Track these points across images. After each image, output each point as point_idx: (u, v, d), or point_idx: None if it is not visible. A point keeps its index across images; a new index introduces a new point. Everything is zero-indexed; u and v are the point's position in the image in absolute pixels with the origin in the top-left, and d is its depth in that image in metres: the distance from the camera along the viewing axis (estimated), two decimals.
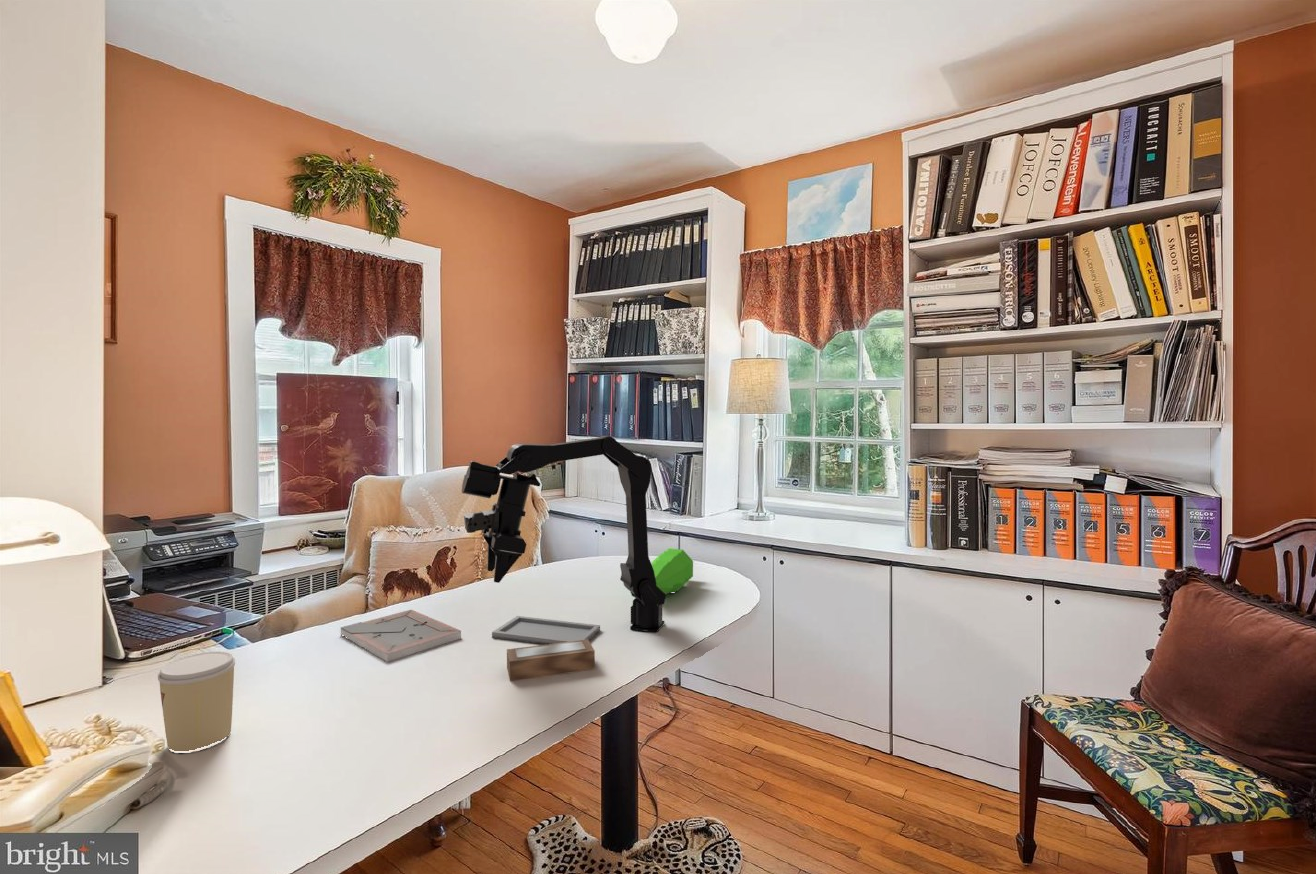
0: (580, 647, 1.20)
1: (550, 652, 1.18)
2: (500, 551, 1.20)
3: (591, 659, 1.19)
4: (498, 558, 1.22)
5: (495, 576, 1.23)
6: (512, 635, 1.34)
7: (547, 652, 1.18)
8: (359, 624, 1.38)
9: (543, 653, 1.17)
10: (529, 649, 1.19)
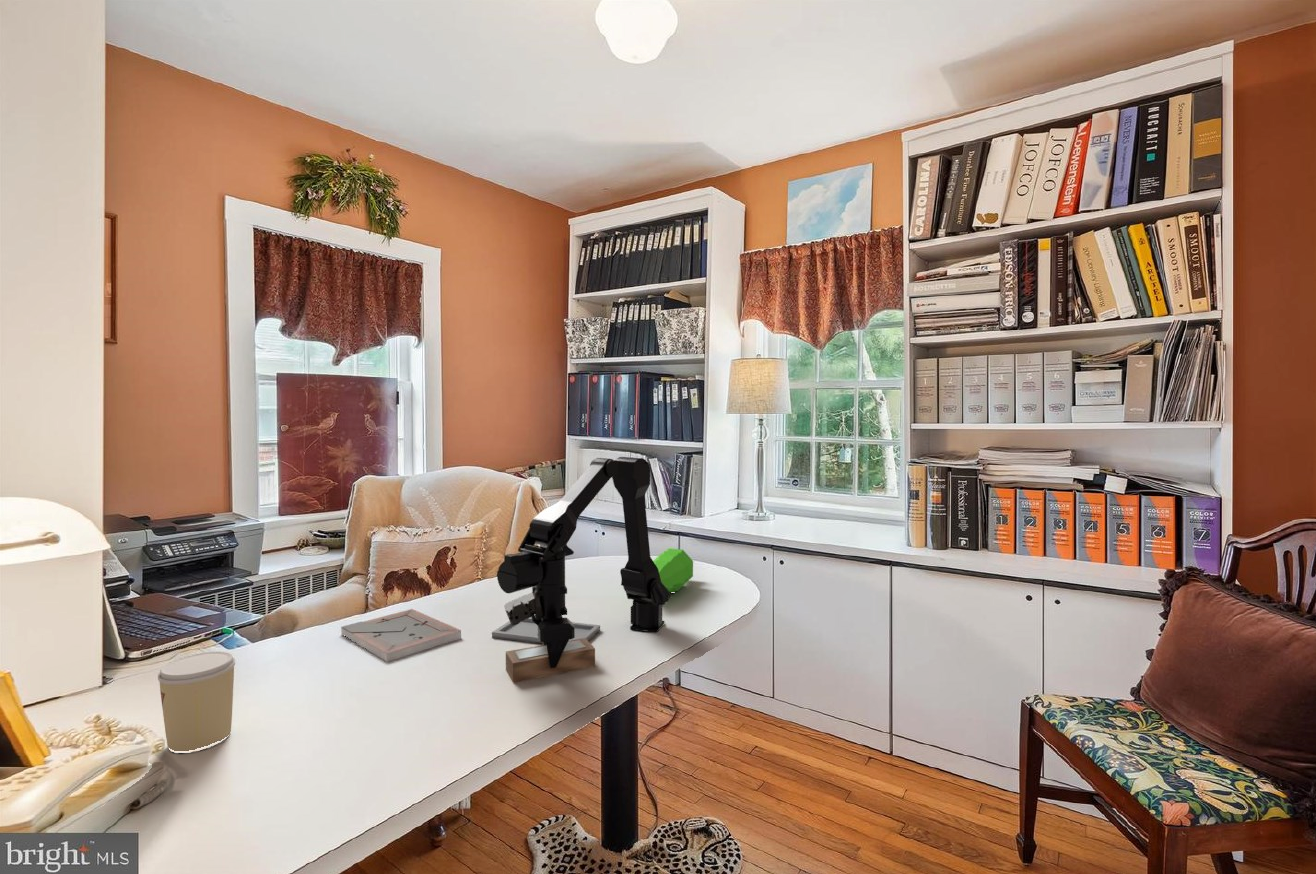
0: (580, 646, 1.21)
1: None
2: None
3: (592, 656, 1.20)
4: (548, 645, 1.14)
5: (550, 662, 1.15)
6: (512, 635, 1.34)
7: None
8: (360, 623, 1.38)
9: (545, 653, 1.17)
10: (529, 650, 1.19)
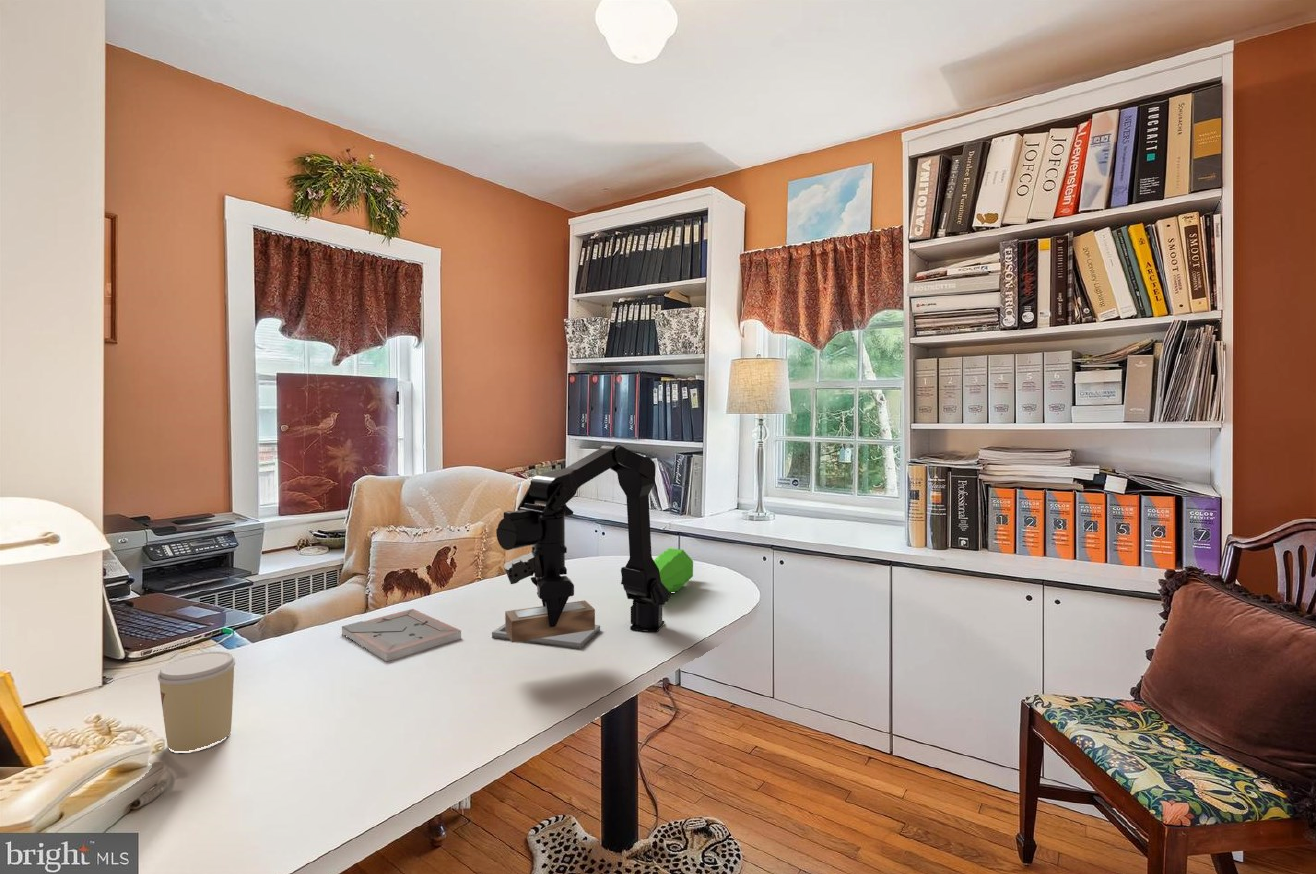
0: (580, 607, 1.20)
1: None
2: None
3: (591, 617, 1.19)
4: (547, 603, 1.13)
5: (549, 621, 1.15)
6: None
7: None
8: (360, 623, 1.38)
9: (544, 613, 1.17)
10: (528, 610, 1.18)
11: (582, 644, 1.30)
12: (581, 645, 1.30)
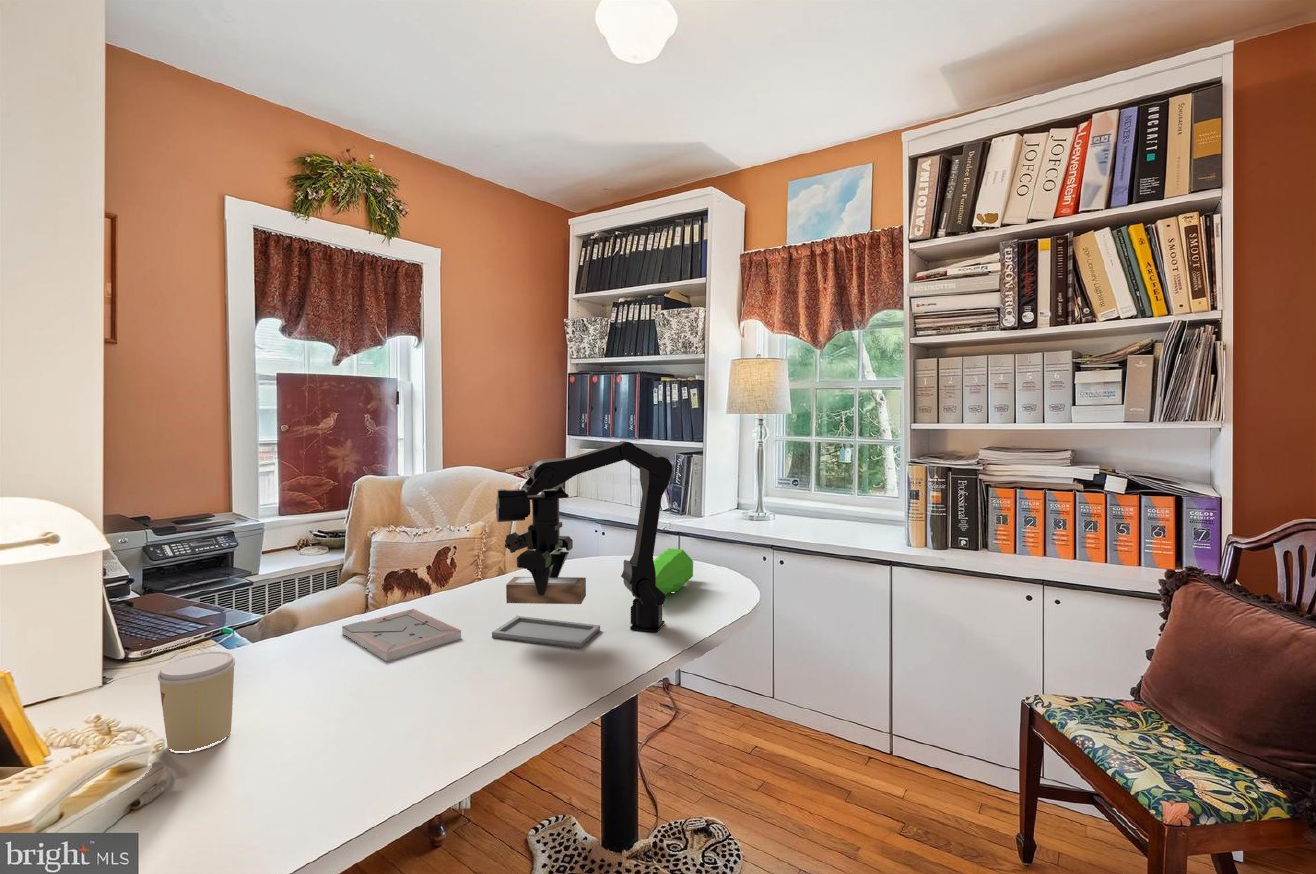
0: (571, 581, 1.32)
1: None
2: None
3: (578, 592, 1.30)
4: (532, 573, 1.28)
5: (537, 589, 1.30)
6: (512, 635, 1.34)
7: None
8: (361, 623, 1.38)
9: None
10: (530, 578, 1.35)
11: (582, 644, 1.30)
12: (581, 645, 1.30)
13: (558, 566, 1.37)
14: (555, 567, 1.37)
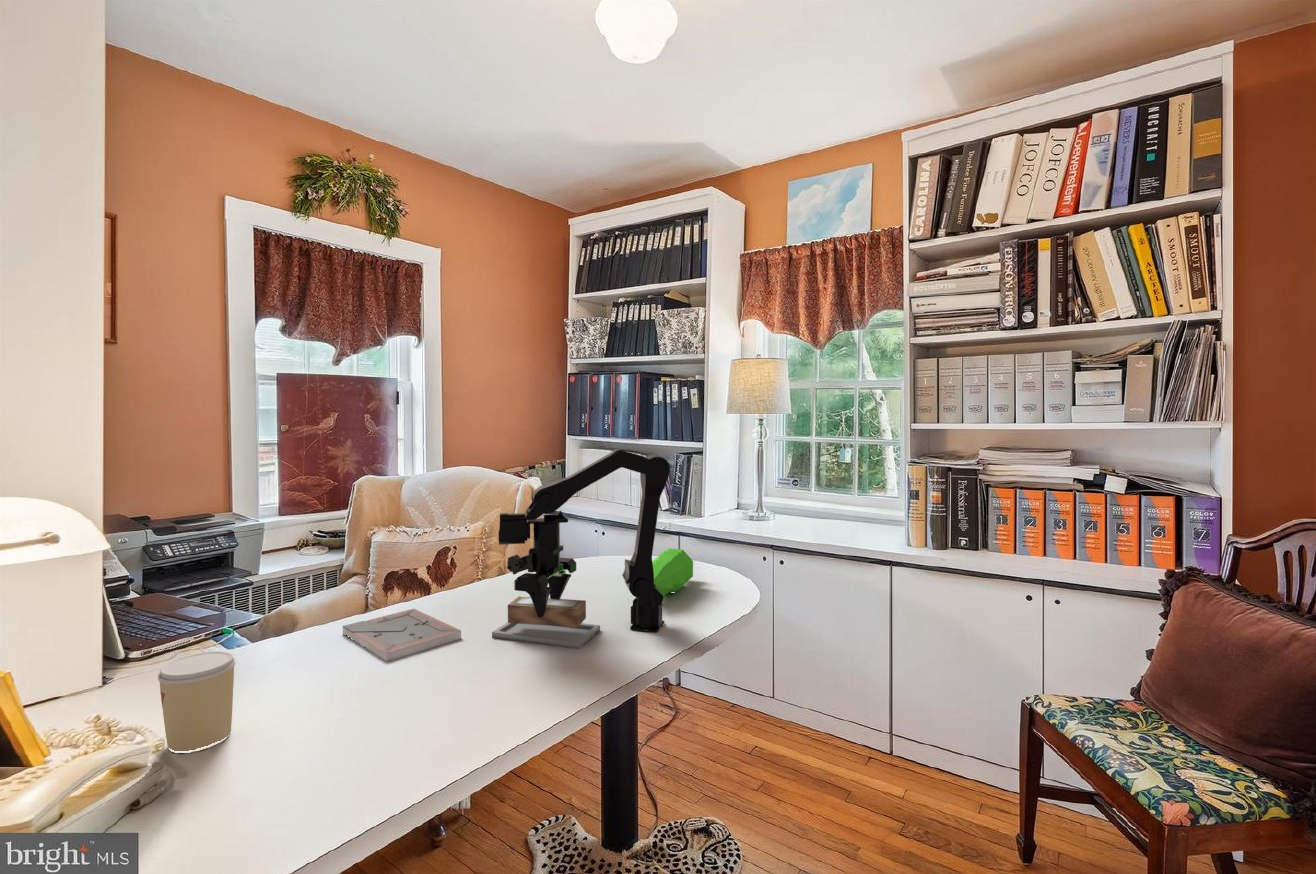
0: (570, 604, 1.35)
1: None
2: None
3: (575, 616, 1.33)
4: (531, 595, 1.32)
5: (536, 611, 1.34)
6: (512, 635, 1.34)
7: None
8: (361, 623, 1.39)
9: None
10: None
11: (582, 644, 1.30)
12: (581, 645, 1.30)
13: (560, 588, 1.40)
14: (557, 589, 1.40)
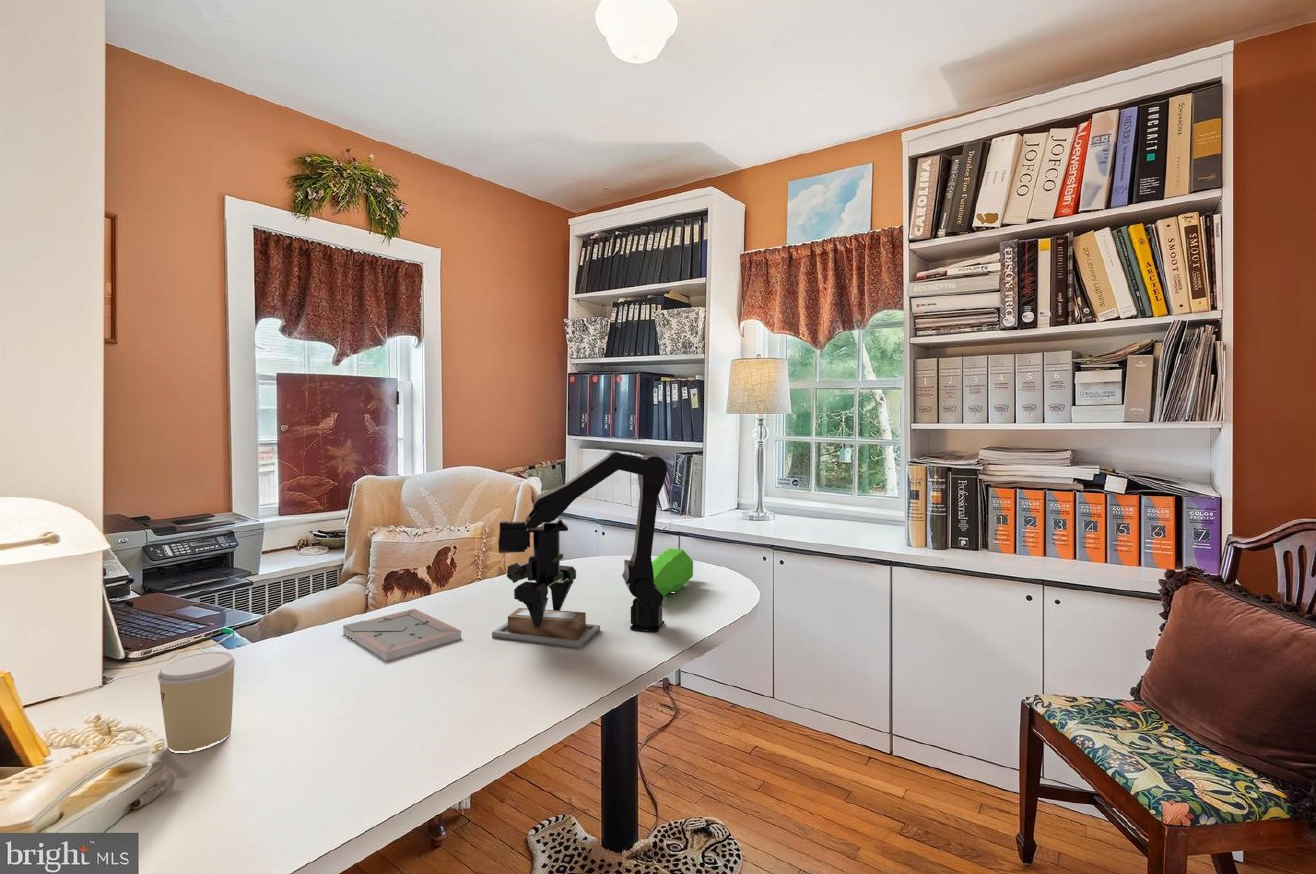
0: (569, 617, 1.35)
1: (543, 616, 1.36)
2: (523, 600, 1.30)
3: (574, 628, 1.33)
4: (528, 606, 1.31)
5: (533, 622, 1.32)
6: (512, 635, 1.34)
7: None
8: (361, 622, 1.39)
9: None
10: None
11: (582, 644, 1.30)
12: (581, 645, 1.30)
13: (562, 595, 1.41)
14: (559, 595, 1.41)
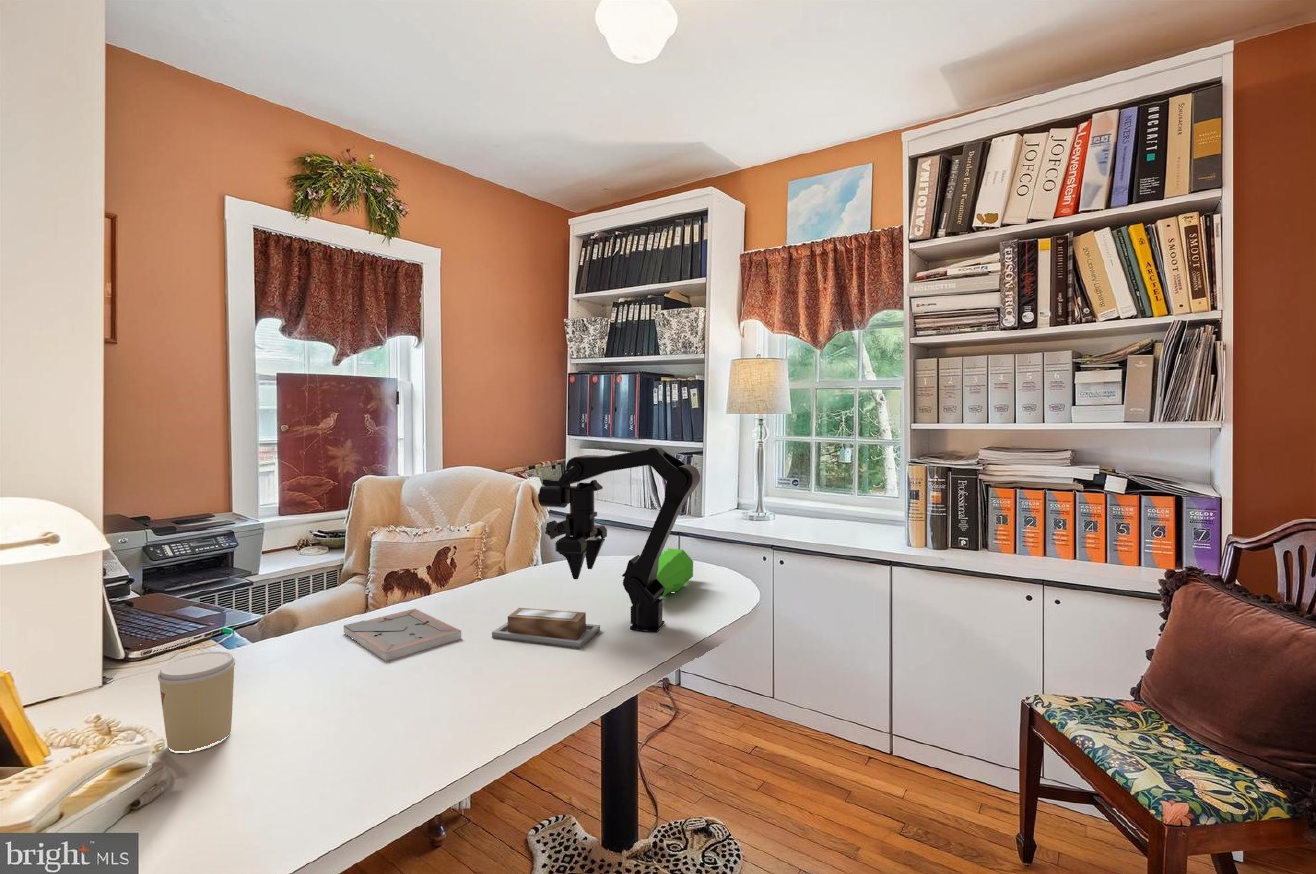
0: (569, 617, 1.35)
1: (543, 616, 1.36)
2: (563, 552, 1.39)
3: (574, 628, 1.33)
4: (567, 558, 1.41)
5: (572, 574, 1.42)
6: (512, 635, 1.34)
7: (541, 615, 1.36)
8: (362, 622, 1.39)
9: (538, 615, 1.36)
10: (532, 610, 1.39)
11: (582, 644, 1.30)
12: (581, 645, 1.30)
13: (595, 551, 1.51)
14: (592, 552, 1.51)
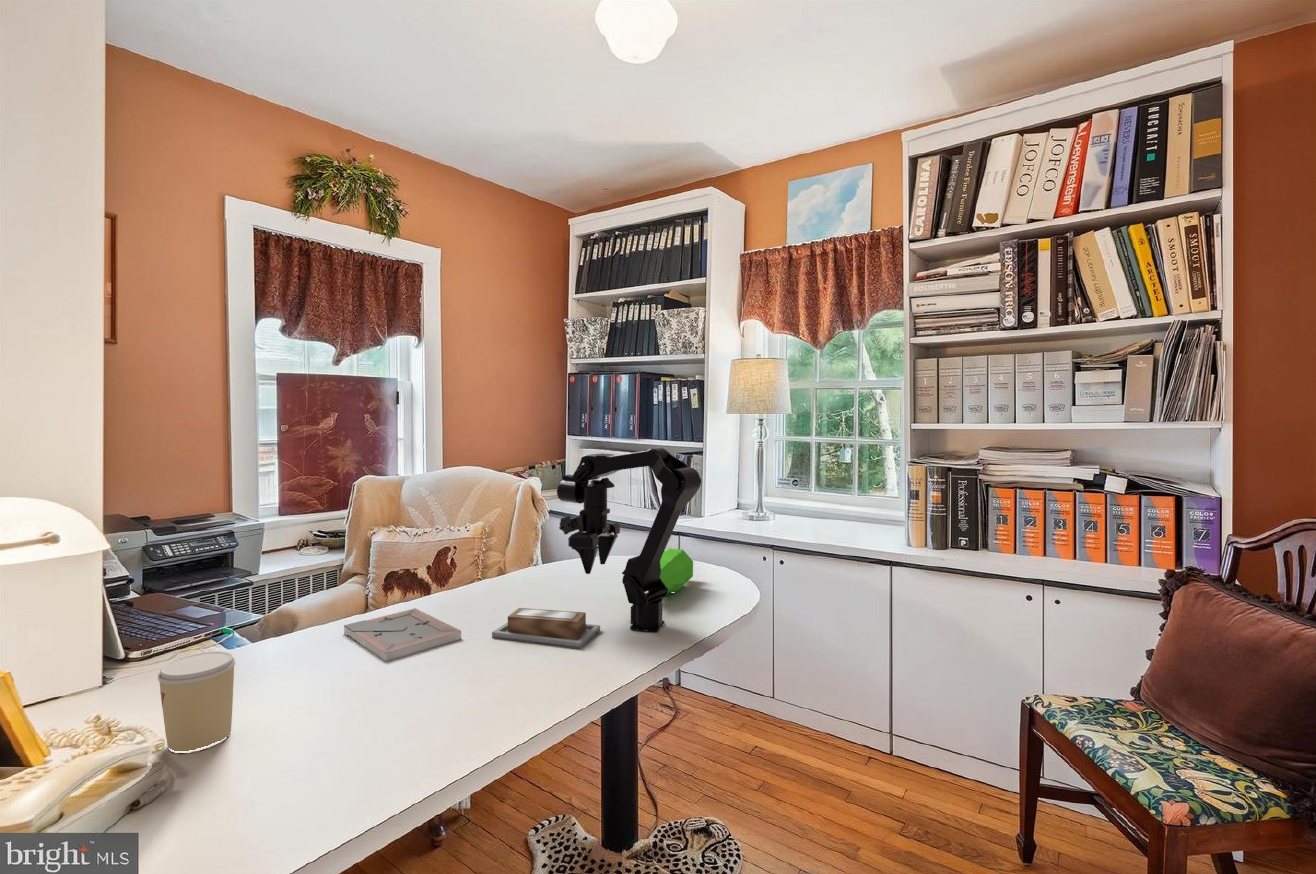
0: (569, 617, 1.35)
1: (543, 616, 1.36)
2: (576, 548, 1.43)
3: (574, 628, 1.33)
4: (580, 553, 1.45)
5: (584, 568, 1.46)
6: (512, 635, 1.34)
7: (541, 615, 1.36)
8: (362, 622, 1.39)
9: (538, 615, 1.36)
10: (532, 610, 1.39)
11: (582, 644, 1.30)
12: (581, 645, 1.30)
13: (608, 547, 1.55)
14: (605, 547, 1.55)
